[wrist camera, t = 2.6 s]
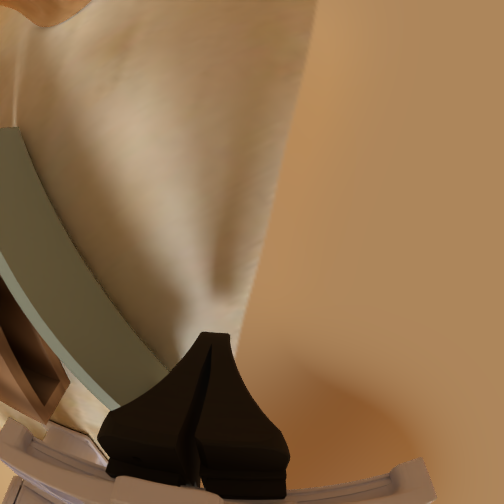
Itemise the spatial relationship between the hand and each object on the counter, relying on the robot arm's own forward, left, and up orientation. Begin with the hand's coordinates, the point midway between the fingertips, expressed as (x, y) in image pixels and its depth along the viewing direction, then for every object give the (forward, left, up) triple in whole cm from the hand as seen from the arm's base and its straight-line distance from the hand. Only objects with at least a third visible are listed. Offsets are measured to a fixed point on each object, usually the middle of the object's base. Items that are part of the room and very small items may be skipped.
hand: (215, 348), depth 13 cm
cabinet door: (+3, +7, -1) cm, 8 cm away
